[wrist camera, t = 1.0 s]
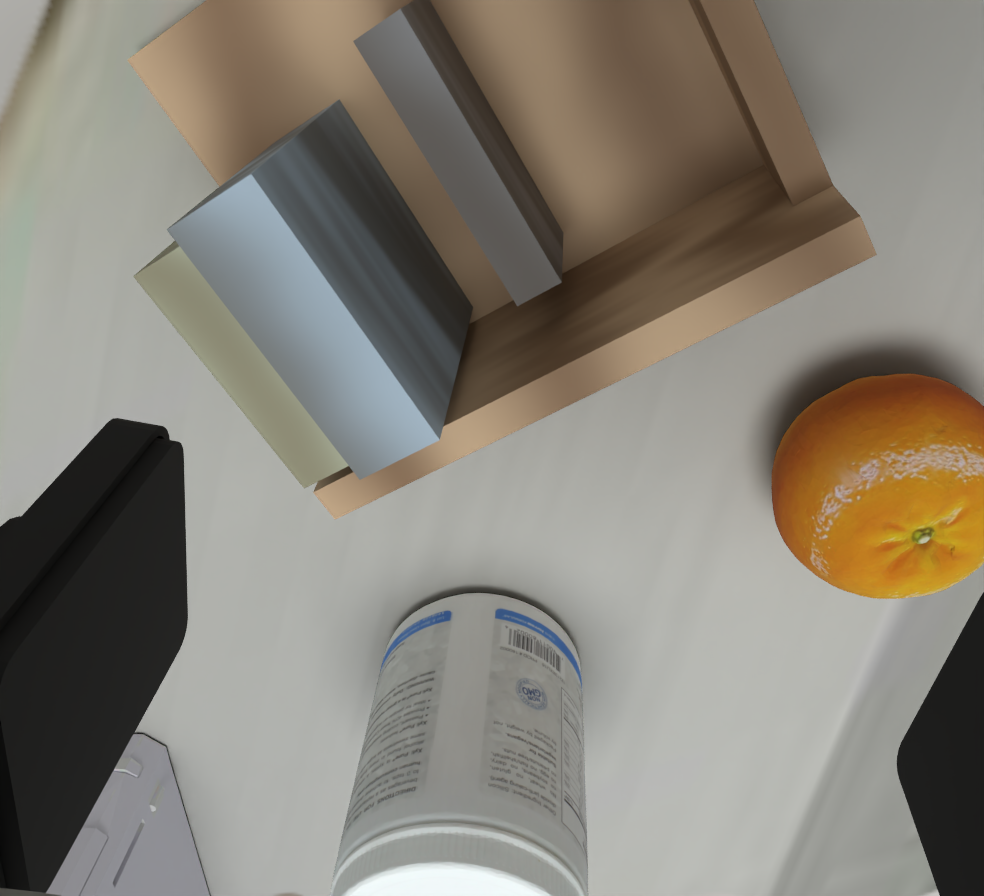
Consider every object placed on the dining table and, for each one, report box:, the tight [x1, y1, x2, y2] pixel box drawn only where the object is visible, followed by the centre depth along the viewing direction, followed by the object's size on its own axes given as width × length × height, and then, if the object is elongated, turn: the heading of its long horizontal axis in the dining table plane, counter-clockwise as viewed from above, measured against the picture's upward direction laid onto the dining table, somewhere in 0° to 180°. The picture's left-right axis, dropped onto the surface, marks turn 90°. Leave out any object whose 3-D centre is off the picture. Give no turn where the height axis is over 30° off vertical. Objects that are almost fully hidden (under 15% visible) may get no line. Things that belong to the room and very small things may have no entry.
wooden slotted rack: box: [128, 0, 877, 519], centre depth 28 cm, size 18×15×11 cm
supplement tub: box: [330, 593, 588, 896], centre depth 39 cm, size 10×10×15 cm
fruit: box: [772, 374, 984, 599], centre depth 35 cm, size 8×9×8 cm
